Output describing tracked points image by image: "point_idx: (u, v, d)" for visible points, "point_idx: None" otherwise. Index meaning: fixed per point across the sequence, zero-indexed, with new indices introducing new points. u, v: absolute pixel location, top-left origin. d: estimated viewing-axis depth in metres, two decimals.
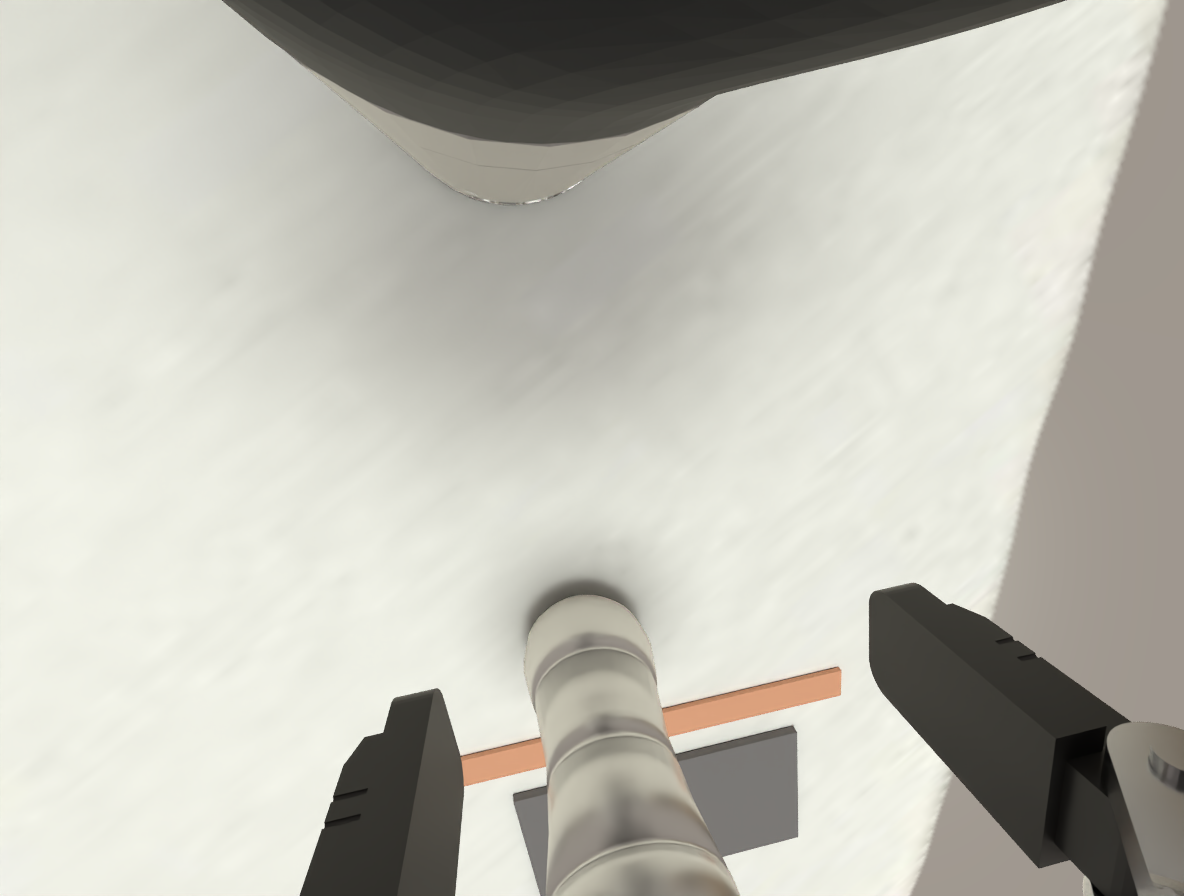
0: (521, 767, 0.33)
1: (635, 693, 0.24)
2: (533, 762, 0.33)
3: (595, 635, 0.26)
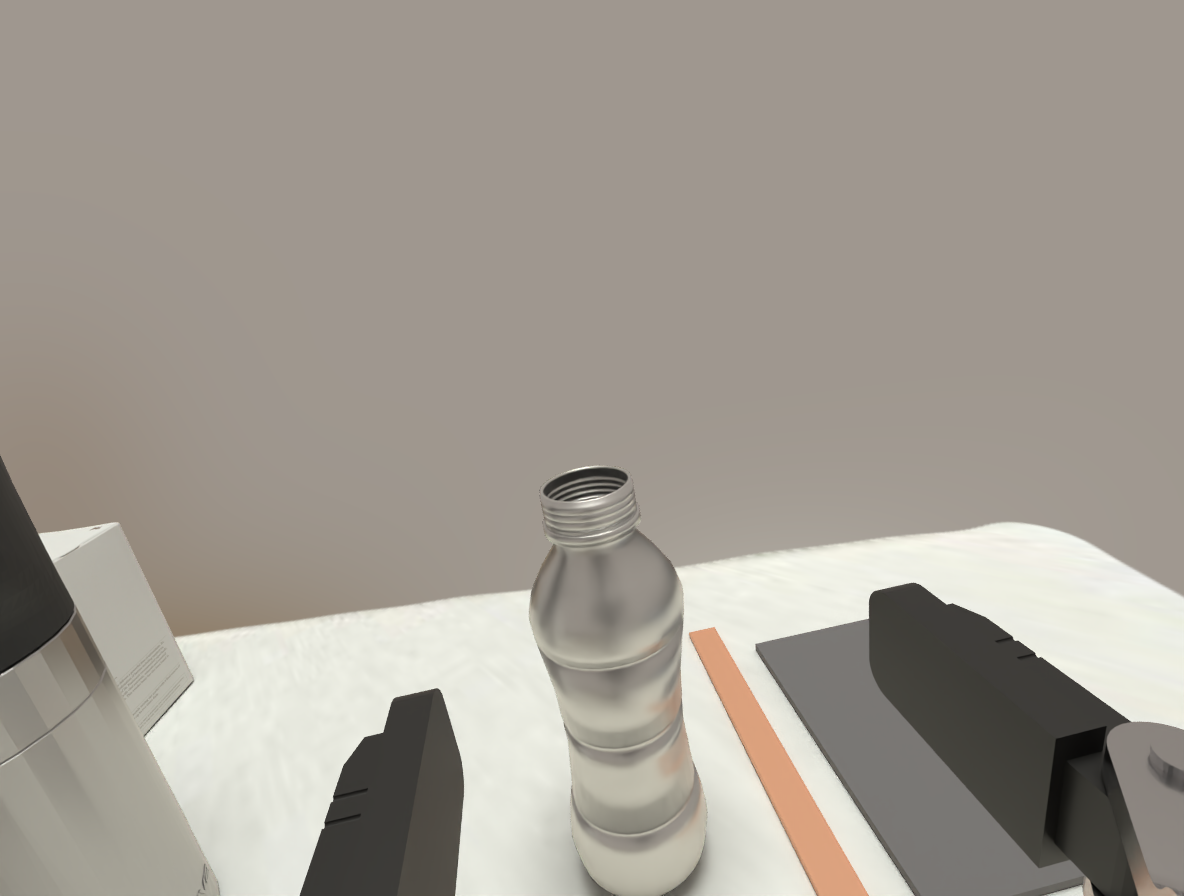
0: None
1: None
2: (853, 892, 0.25)
3: None
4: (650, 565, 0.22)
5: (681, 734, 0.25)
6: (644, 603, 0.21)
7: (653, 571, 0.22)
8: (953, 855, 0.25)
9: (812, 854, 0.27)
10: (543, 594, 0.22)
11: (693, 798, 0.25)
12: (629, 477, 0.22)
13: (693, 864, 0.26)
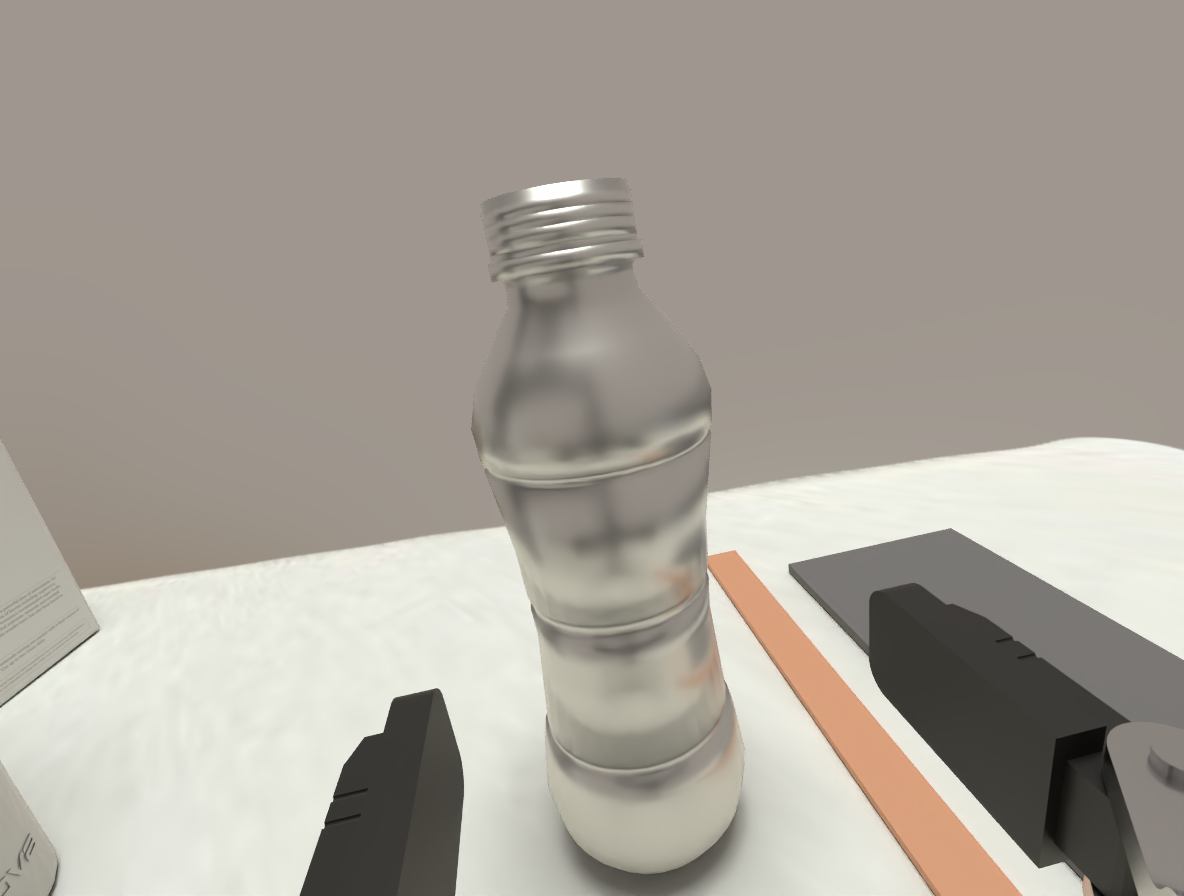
0: (996, 883, 0.16)
1: None
2: (970, 858, 0.16)
3: None
4: (660, 323, 0.14)
5: (708, 620, 0.16)
6: (651, 373, 0.13)
7: (665, 332, 0.14)
8: None
9: (898, 807, 0.18)
10: (489, 373, 0.14)
11: (725, 721, 0.17)
12: None
13: (727, 820, 0.17)
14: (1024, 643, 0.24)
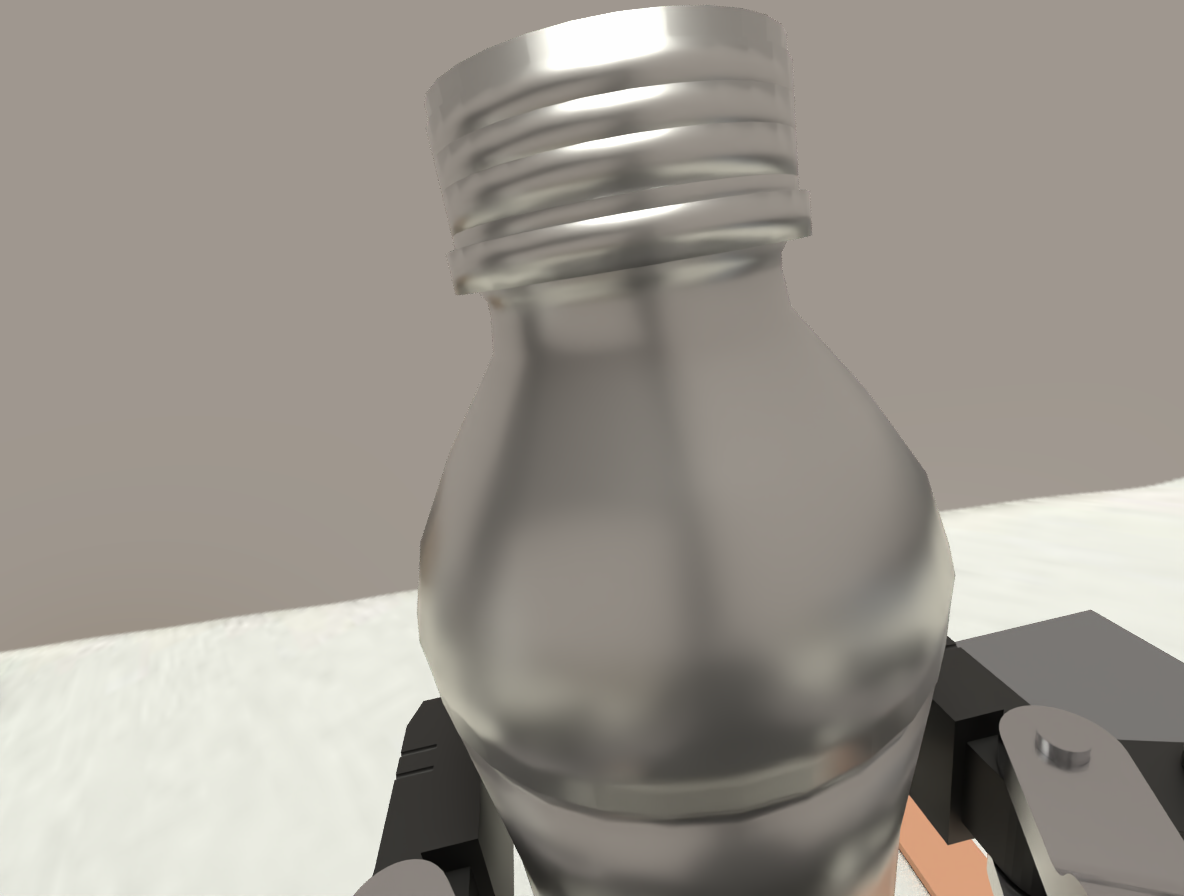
0: None
1: None
2: None
3: None
4: (857, 392, 0.06)
5: None
6: (865, 531, 0.05)
7: (871, 415, 0.06)
8: None
9: None
10: (449, 511, 0.06)
11: None
12: None
13: None
14: None
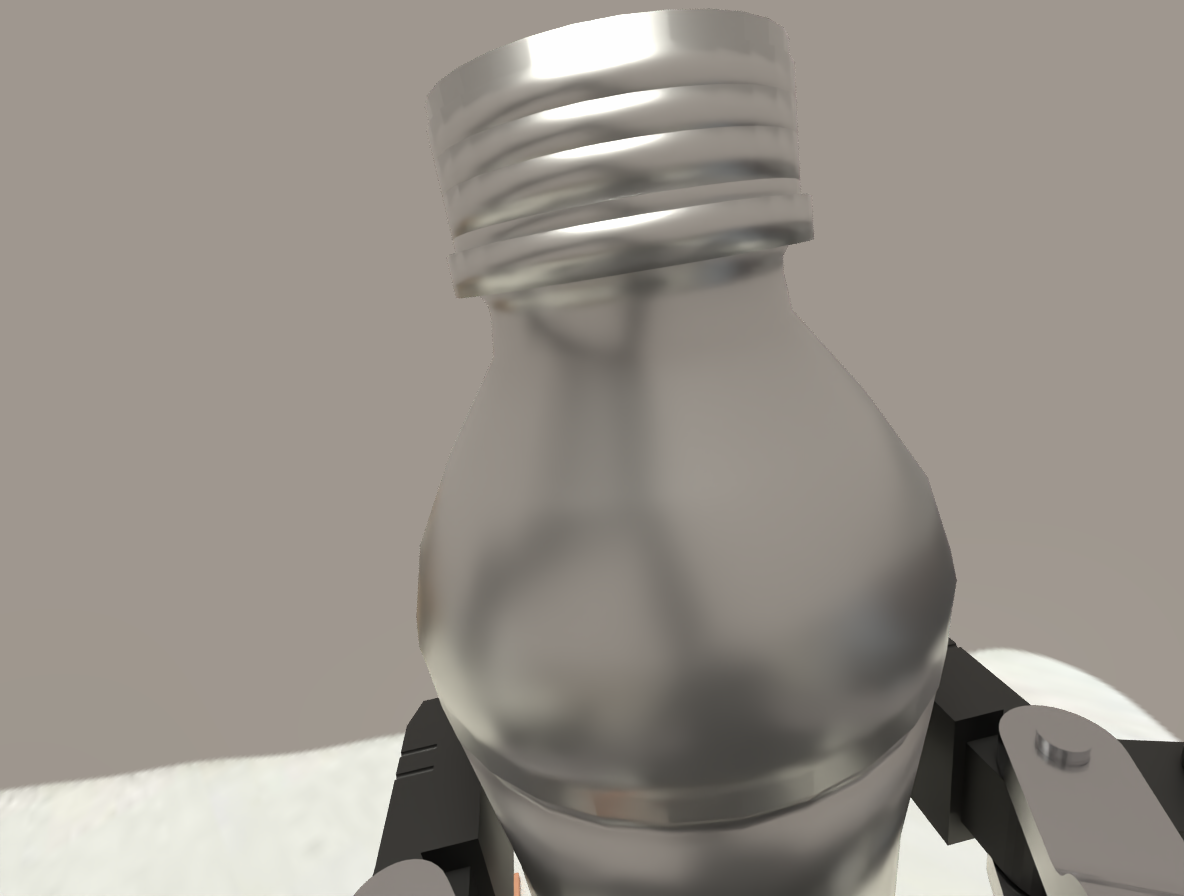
0: None
1: None
2: None
3: None
4: (858, 397, 0.06)
5: None
6: (865, 536, 0.05)
7: (873, 420, 0.06)
8: None
9: None
10: (448, 515, 0.06)
11: None
12: None
13: None
14: None
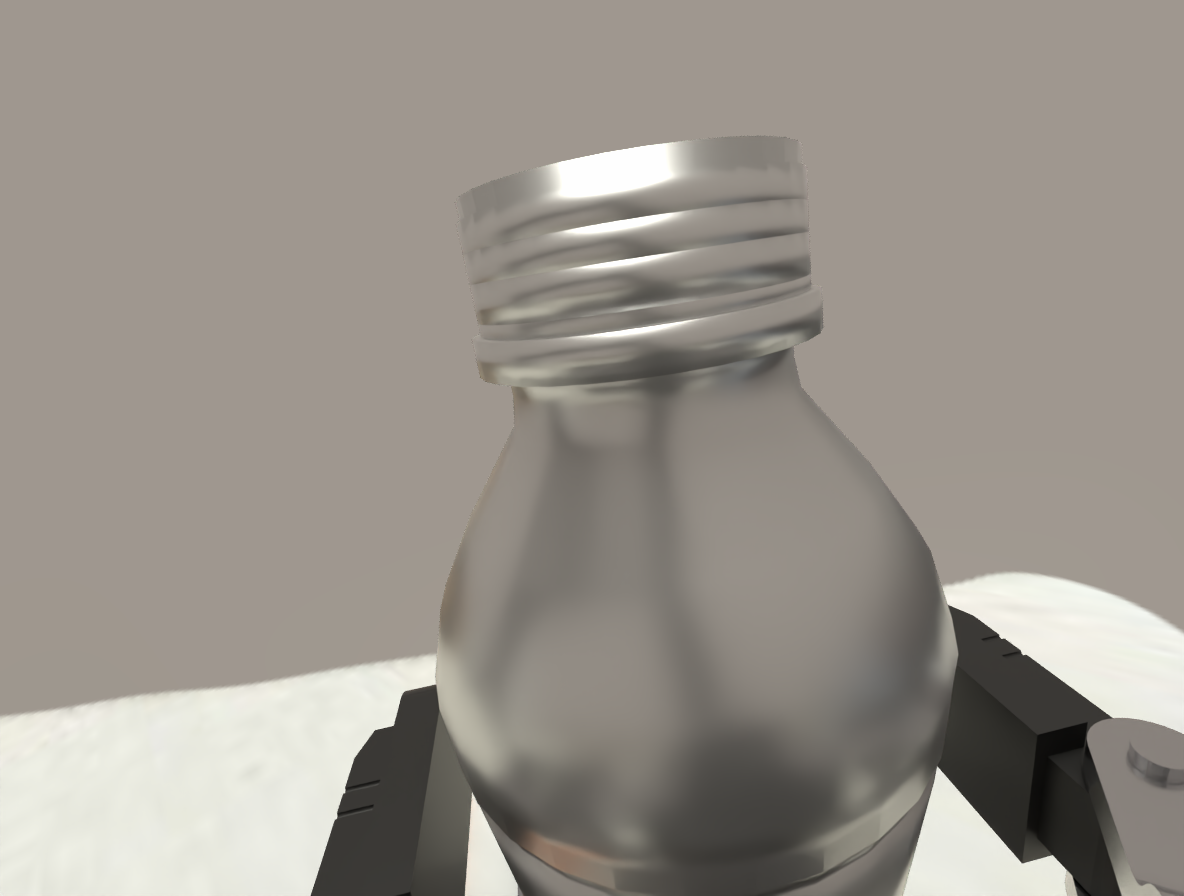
0: None
1: None
2: None
3: None
4: (865, 478, 0.06)
5: None
6: (873, 621, 0.05)
7: (879, 501, 0.06)
8: None
9: None
10: (472, 588, 0.06)
11: None
12: None
13: None
14: None
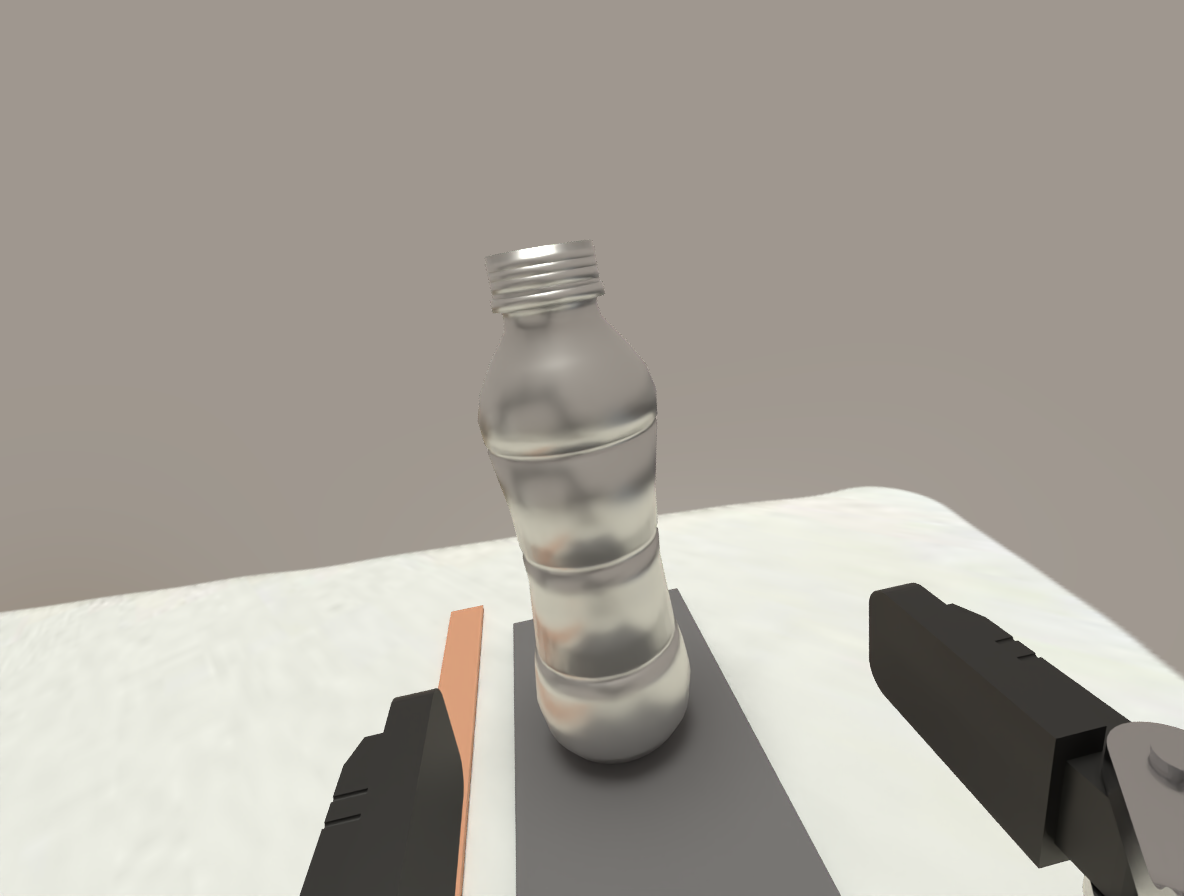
0: None
1: None
2: None
3: None
4: (615, 343, 0.19)
5: (657, 567, 0.21)
6: (607, 379, 0.18)
7: (618, 350, 0.19)
8: None
9: None
10: (490, 379, 0.19)
11: (672, 646, 0.22)
12: None
13: (674, 722, 0.22)
14: None
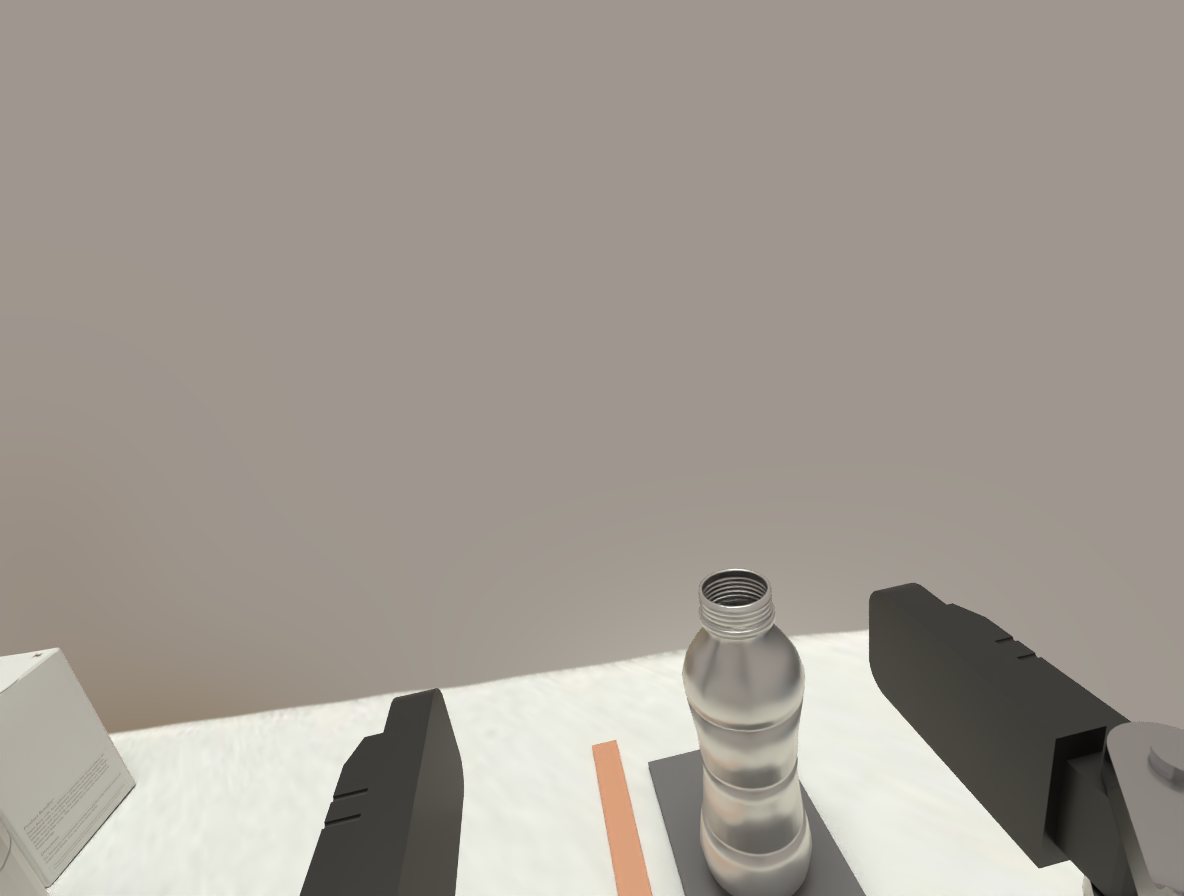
0: None
1: None
2: None
3: (701, 819, 0.34)
4: (784, 649, 0.29)
5: (797, 774, 0.32)
6: (783, 680, 0.28)
7: (786, 654, 0.29)
8: None
9: None
10: (702, 671, 0.29)
11: (804, 825, 0.32)
12: (768, 583, 0.29)
13: (804, 876, 0.32)
14: None
